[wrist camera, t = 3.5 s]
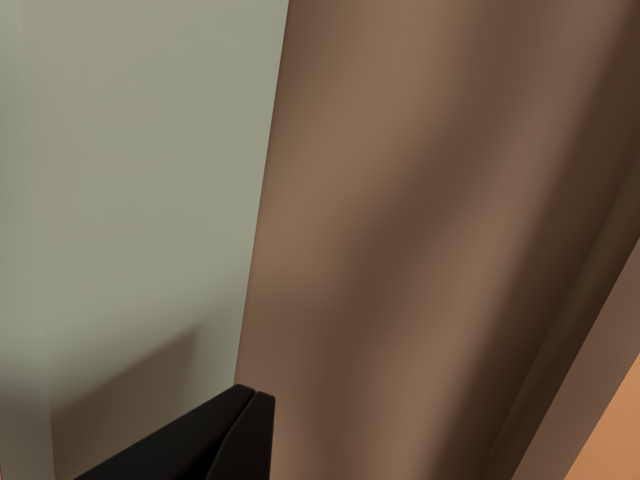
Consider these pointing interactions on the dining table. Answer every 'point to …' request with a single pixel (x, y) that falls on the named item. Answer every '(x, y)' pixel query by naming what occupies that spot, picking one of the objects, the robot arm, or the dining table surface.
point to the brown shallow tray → (446, 237)
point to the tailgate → (125, 215)
